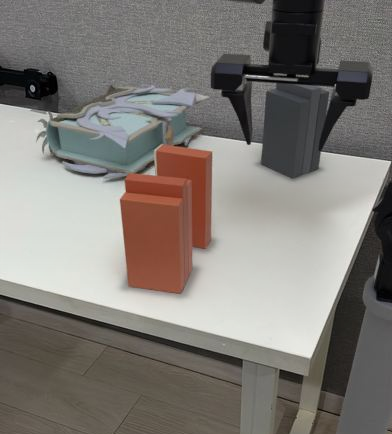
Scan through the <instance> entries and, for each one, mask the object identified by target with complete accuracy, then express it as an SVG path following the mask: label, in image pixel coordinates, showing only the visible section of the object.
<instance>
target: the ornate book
mask: <svg viewBox="0 0 392 434" xmlns="http://www.w3.org/2000/svg"><path fill="white" fill-rule="evenodd" d="M142 86H143V87H145V86H148V87H146V88H140V87H142ZM140 87H135V86H118V87H116V88H115V87H114V85H113V84H110V85H109V86H108V88H107V89H106V92H105V94H102V95H98V96H96V97H94V98H92V100H91V101H85V102H83V103H80V104H79V105H78V106H76V107H75V108H73V109H71V110H69V111H66V112H62V113H59V112H58V114H56V116H55V117H54V116H53V113H52V112H51V111H50V110H47V114H48V117H49V120H48V121H47V120H46V119H44V118H41V119H39V120H37V123H42V125H43V128H44V129H45V130H42V131H40V132H39V133H38V135H37V136H36V141H35V143H37V142H38V140H39V139H40V138H43V139H44V140H43V141H42V144H41V151H42V154H43V155H45V147H46V145H48V149H49V153H50V154H51V155H53V156H56V158H57V157H58V158H61V159H65V160H70V161H72V162H73V163H69V162H67V161H64V160H62V161H61V162H62V164H63V166H65V167H66V168H68V169H69V170H72V171H76V172H80V173H86V174H104V175H103V176H102V178H103V179H113V178H122V177H127V176H128V175H129V173H135V174H137V173H138V172H141V171H143V170H145V169H146V168H147V165H148V164H150V163H152V162H153V161H154V150H155V149H157V148H158V147H159V146H160V145H161V144H164V145H170V146H177V145H180V144H183V145H184V147H185V146H188V145H189V142H190V140H191V138H192V136H194V135H195V134H197V133H199V132H200V131H202V130H203V128H202V127H200V126H195V125H189V124H187V113H186V112H187V110H188V109H189V108H191V109H192V108H193V107H194V106H195V105H197V104H199V103H201V102H203V100H205V99H206V100H207V99H208V98H209V96H208V95H203V94H199V93H196V92H192V88H191V86H190V87H186V88H180V89H179V90H177V92H174V93H171V92H173V89H172V88H164V87H163V88H161V87H160V88H158V87H156V85H155V84H140Z"/></svg>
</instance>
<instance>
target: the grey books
mask: <svg viewBox="0 0 392 434" xmlns="http://www.w3.org/2000/svg"><path fill="white" fill-rule="evenodd" d="M329 98H330V91H328V90H325V89H323V88H322V87H321V86H313V85H298V84H283V83H275V88H272V89H267V90H266V91H265V104H264V116H263V131H262V143H261V144H262V145H261V159H260V165H262V166H264V167H267V168H269V169H271V170H273V171H275V172H277V173H279V174H281V175H284V176H286V177H288V178H290V179H295V178H299V177H301V176H303V175H306V174H308V173H312V172H314V171H316V170H319V169H320V168H319V167H320V161H321V155H322V151H318V148H319V141H320V136H321V132H322V129H323V125H324V121H325V118H326V114H327V111H328V107H329Z"/></svg>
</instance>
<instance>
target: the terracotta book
mask: <svg viewBox="0 0 392 434" xmlns="http://www.w3.org/2000/svg"><path fill="white" fill-rule="evenodd" d="M153 161H154V176H164V177H174V178H184V179H188V180H191V181H192V248H193V247H195V248H199V249H203V250H206V249H207V248H208V246H209V244H210V243H211V242H212V207H213V206H212V204H213V203H212V201H213V200H212V199H213V192H212V191H213V151H212V150H206V149H197V148H190V147H185V146H177V145H173V146H170V145H164V144H161V145H160V146H159V147H158V148H157V149H155V150H154V160H153Z"/></svg>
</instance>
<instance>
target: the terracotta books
mask: <svg viewBox="0 0 392 434" xmlns="http://www.w3.org/2000/svg"><path fill="white" fill-rule="evenodd" d="M124 190H125V192H124V193H123V195H122V196H120V198H119V206H120V215H121V226H122V235H123V246H124V257H125V265H126V275H127V276H126V277H127V285H128V287H131V288H138V289H146V290H152V291H159V292H166V293H173V294H180V295H181V294H182V292H183V290H184V288H185V286H186V284H187V282H188V279H189V277H190V275H191V273H192V271H193V246H192V181H191V180H188V179H184V178H174V177H164V176H155V174H143V173H129V175H128V176H125V178H124Z"/></svg>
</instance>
